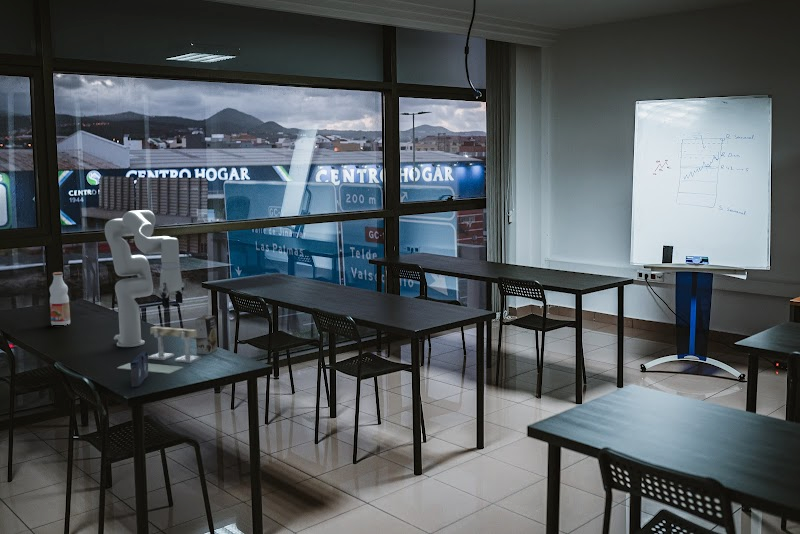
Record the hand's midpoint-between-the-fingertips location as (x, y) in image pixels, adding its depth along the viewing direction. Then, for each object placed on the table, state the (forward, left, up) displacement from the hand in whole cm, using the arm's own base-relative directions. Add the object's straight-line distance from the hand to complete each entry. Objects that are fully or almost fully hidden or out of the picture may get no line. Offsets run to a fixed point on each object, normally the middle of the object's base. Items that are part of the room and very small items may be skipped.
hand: (172, 304), depth 350 cm
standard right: (+7, 0, -24) cm, 25 cm away
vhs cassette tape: (+8, -34, -25) cm, 43 cm away
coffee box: (+6, +16, -25) cm, 30 cm away
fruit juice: (-102, +42, -25) cm, 113 cm away
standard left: (-7, 0, -24) cm, 25 cm away
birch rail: (0, 0, -14) cm, 14 cm away
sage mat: (0, -17, -24) cm, 29 cm away
